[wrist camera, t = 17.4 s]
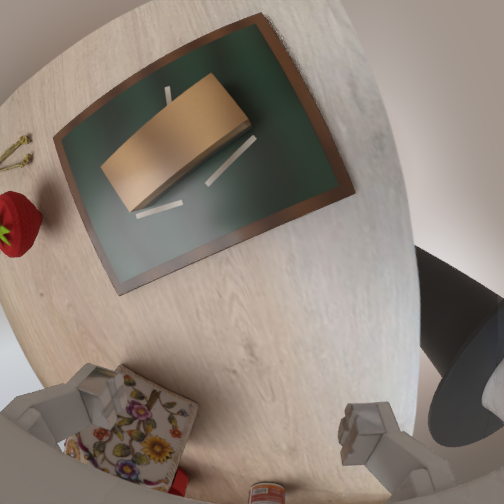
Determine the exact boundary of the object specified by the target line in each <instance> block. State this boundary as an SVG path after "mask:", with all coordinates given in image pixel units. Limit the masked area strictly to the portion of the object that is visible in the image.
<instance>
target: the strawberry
mask: <svg viewBox="0 0 504 504" xmlns="http://www.w3.org/2000/svg"><path fill="white" fill-rule="evenodd" d="M41 223H42V215H41V213H40V212H39V211H38V210H37V209H36V207H35V206H34V205H33V203H32V202H30V201H29V200H28V199H27V198H26V197H25V196H24V195H23V194H20V193H16V192H13V191H8V192H6V193H4V194H1V195H0V249H1V251H2V252H4V253H5V254H6V255H7V256H8V257H21V256H23V255H24V254H25V253H26V252H27V251H28V250H29V249H30V248H31V247H32V245H33V243H34V241H35V239H36V237H37V235H38V232H39V228H40V225H41Z"/></svg>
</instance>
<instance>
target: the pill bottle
mask: <svg viewBox="0 0 504 504" xmlns="http://www.w3.org/2000/svg"><path fill="white" fill-rule="evenodd" d="M248 504H285V489H284V488H283V487H282V486H281V485H279V484H275V483H258V484H255V485H253V486H252V487H251V488H250V491H249V500H248Z"/></svg>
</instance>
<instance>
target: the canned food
mask: <svg viewBox="0 0 504 504" xmlns="http://www.w3.org/2000/svg"><path fill="white" fill-rule="evenodd" d="M188 482H189V479H188V475H187V473H186V472H185V471H184V470H182V469H181V468H179V467H177V470H176V472H175V475H174V478H173V481H172V484H171V489H169V490H168V492H167V493H169V494H173V495H177V496H181V497H184V496H185V492H186V489H187V486H188Z"/></svg>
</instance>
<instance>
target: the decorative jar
mask: <svg viewBox="0 0 504 504" xmlns="http://www.w3.org/2000/svg"><path fill="white" fill-rule="evenodd" d="M115 371H116V372H119V373H121V374H122V375H123V377H124V381H125V382H124V383H123V384H122V385H123V387H124V388H125V389H126V390H127V395H128V401H127V404H126V407H125V409H124V411H123V412H122V413H119V414H117V418H118V420H117V422H116V423H115V425H114V426H113V428H112V429H111V431H110V430H107V429H104V428H102V427H99V426H96V425H93V424H92V425H91V426H89V427H87V428H86V429H84V430H82V431H80V432H78V433H76V434H74V435H72V436H70V437H68V438H67V439H66V442H65V444H64V445H65V450H64V452H63V453H65V454H67V455H69V456H71V457H73V458H75V459H77V460H79V461H81V462H83V463H85V464H87V465H89V466H92V467H94V468H96V469H99V470H101V471H103V472H106V473H108V474H111V475H113V476H116V477H119V478H121V479H124V480H127V481H130V482H132V483H135V484H138V485H141V486H145V487H148V488H151V489H154V490H158V491H161V492H165V493H167V492H168V490H169V489H171V484H172V481H173V478H174V475H175V472H176V470H177V467H178V464H179V462H180V459H181V456H182V453H183V451H184V448H185V445H186V443H187V440H188V437H189V435H190V432H191V429H192V426H193V424H194V420H195V418H196V415H197V411H198V404H197V403H196V402H194V401H191V400H189V399H187V398H184V397H182V396H180V395H178V394H175V393H173V392H171V391H169V390H167V389H164V388H163V387H161V386H159V385H157V384H155V383H153V382H151V381H149V380H148V379H146V378H144V377H142V376H140V375H138V374H136V373H134V372H133V371H131V370H130V369H128V368H126V367H124V366H123V365H119V366H118V368H117V369H116V370H115Z"/></svg>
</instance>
